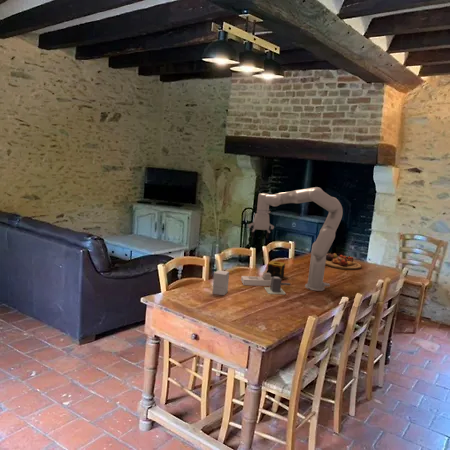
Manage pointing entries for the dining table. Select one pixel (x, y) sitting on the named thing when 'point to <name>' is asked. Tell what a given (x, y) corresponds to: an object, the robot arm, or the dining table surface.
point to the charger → (275, 284)
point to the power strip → (257, 281)
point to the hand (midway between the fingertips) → (260, 238)
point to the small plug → (267, 276)
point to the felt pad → (274, 292)
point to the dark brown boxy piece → (276, 269)
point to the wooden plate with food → (341, 262)
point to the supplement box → (220, 282)
